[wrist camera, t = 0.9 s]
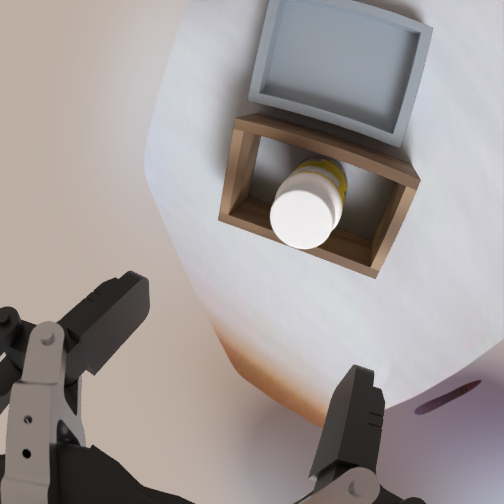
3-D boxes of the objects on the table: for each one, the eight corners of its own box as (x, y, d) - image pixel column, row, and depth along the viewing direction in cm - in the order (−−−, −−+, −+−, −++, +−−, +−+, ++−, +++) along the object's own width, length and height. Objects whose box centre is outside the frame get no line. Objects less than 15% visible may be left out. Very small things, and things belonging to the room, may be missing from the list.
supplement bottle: (328, 218, 27) (310, 268, 20) (284, 188, 27) (250, 228, 20) (359, 176, 24) (354, 214, 17) (311, 144, 24) (286, 168, 17)
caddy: (256, 113, 24) (235, 118, 21) (412, 165, 22) (420, 180, 18) (238, 201, 29) (218, 220, 25) (376, 251, 26) (375, 279, 23)
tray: (280, -6, 18) (272, -14, 16) (427, 33, 16) (433, 27, 14) (257, 99, 24) (247, 100, 22) (397, 143, 21) (399, 148, 19)
